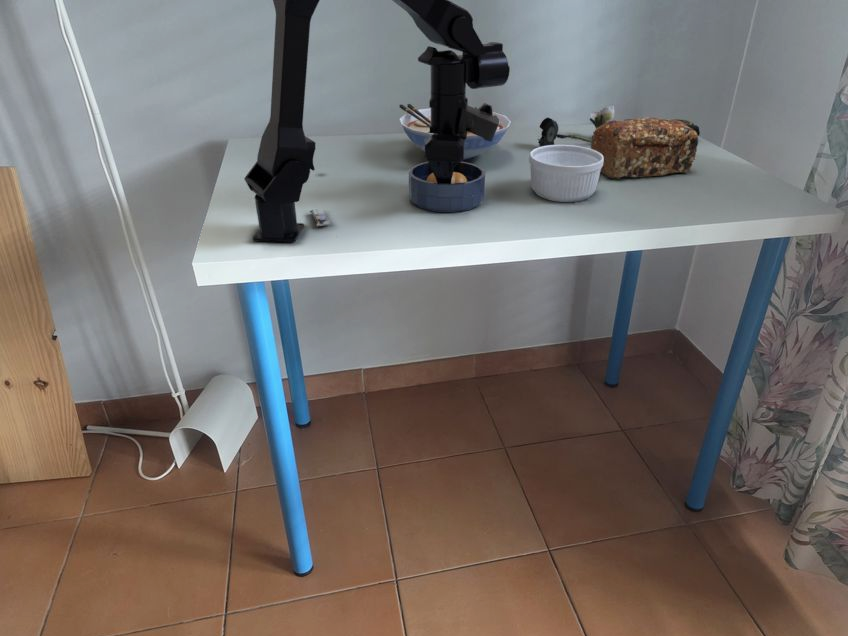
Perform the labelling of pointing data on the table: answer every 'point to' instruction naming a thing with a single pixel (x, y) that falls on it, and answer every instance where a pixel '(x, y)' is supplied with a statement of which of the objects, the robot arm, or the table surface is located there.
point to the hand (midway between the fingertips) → (447, 184)
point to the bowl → (447, 189)
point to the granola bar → (320, 217)
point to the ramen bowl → (419, 132)
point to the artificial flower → (552, 129)
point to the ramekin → (565, 172)
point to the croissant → (455, 178)
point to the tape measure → (690, 125)
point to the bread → (645, 147)
